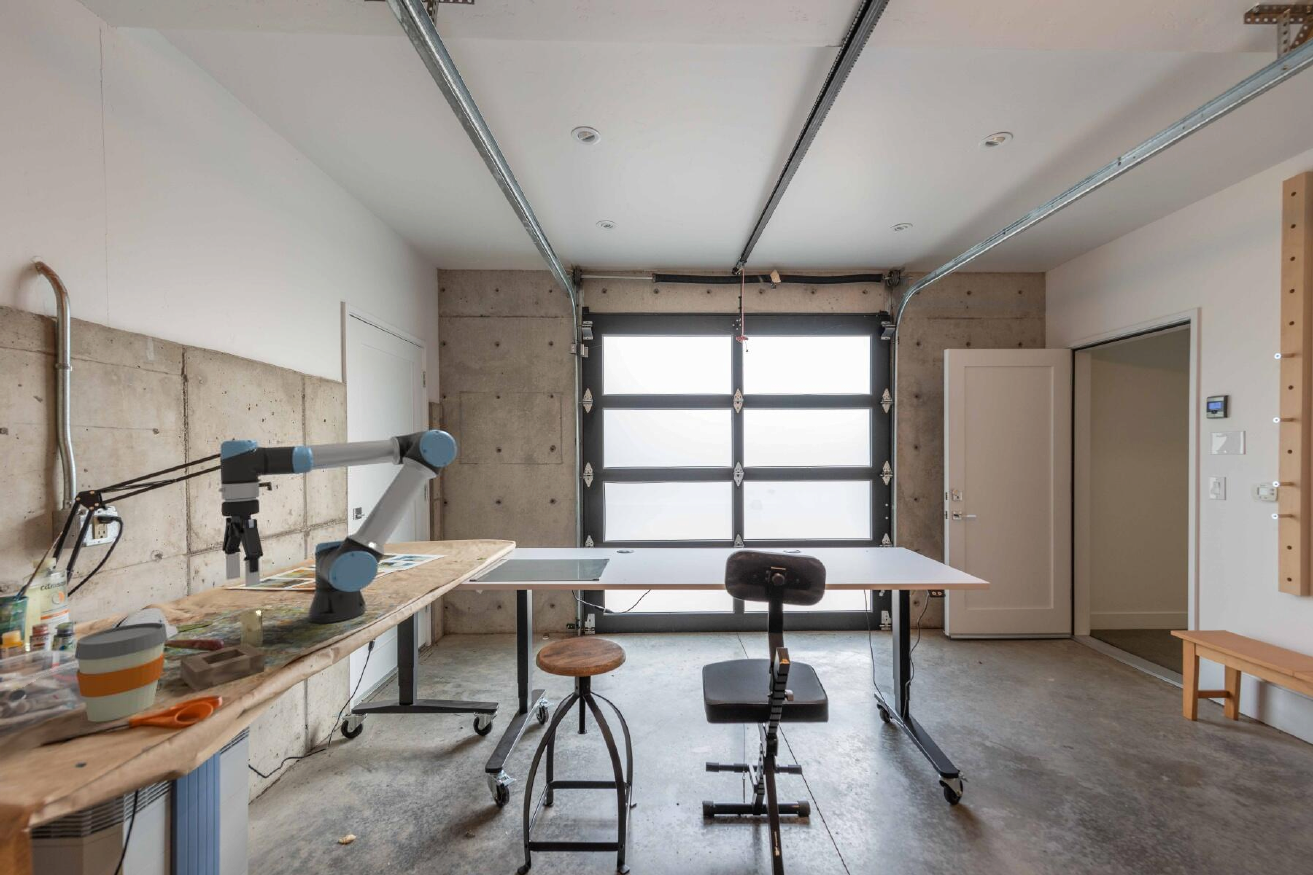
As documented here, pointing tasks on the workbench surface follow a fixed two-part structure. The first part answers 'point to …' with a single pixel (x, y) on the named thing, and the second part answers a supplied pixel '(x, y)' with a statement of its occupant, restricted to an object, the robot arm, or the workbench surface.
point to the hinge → (147, 620)
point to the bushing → (252, 627)
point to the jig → (221, 666)
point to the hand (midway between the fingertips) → (242, 581)
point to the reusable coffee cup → (120, 669)
